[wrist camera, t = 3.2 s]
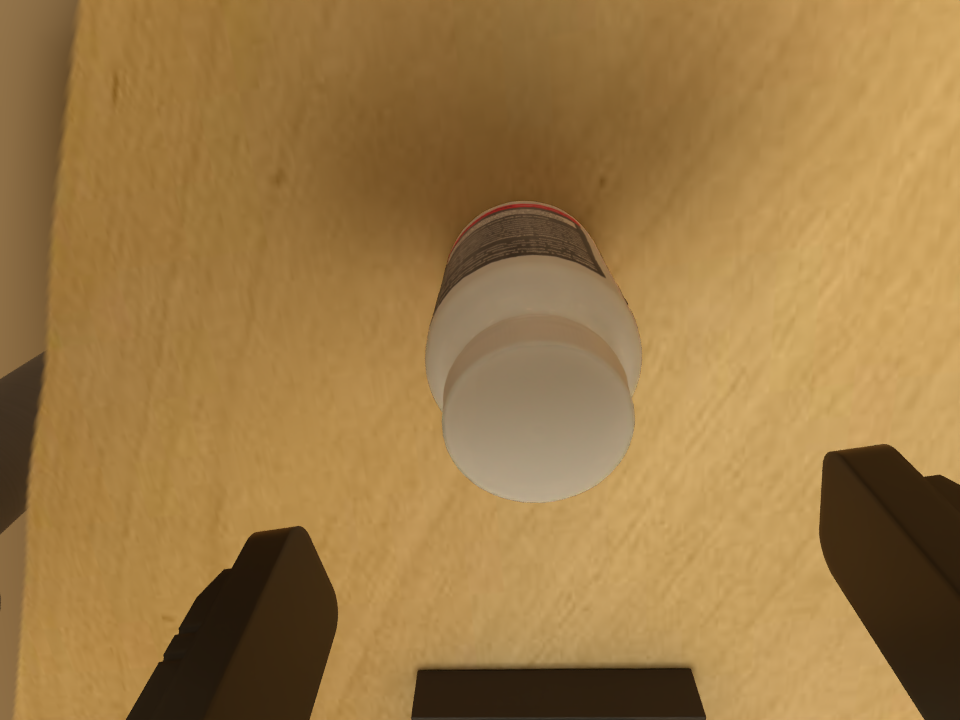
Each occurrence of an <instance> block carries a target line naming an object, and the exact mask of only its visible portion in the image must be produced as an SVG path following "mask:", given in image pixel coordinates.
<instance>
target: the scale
mask: <svg viewBox="0 0 960 720" xmlns="http://www.w3.org/2000/svg"><path fill="white" fill-rule="evenodd" d="M411 719H412V720H706V715H705V712H704V709H703V706H702V702H701V699H700V696H699V693H698V690H697V687H696V683H695V680H694V677H693V674H692V671H691V669H609V670H453V671H418V672H417V679H416V687H415V694H414V701H413V708H412V716H411Z"/></svg>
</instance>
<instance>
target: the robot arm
mask: <svg viewBox="0 0 960 720" xmlns="http://www.w3.org/2000/svg"><path fill="white" fill-rule="evenodd" d="M819 536H820V543H821V548H822V551H823V555H824V558H825V561H826V563H827V565H828V568H829V570H830V572H831V574H832V575H833V577H834V579H835V580H836V582H837V583H838V585H839V587H840V588H841V590H842V591H843V593H844V594H845V596H846V598H847V599H848V601H849V602H850V604H851V605H852V607H853V608H854V610H855V612H856V613H857V615H858V616H859V618H860V619H861V621H862V623H863V624H864V626H865V627H866V629H867V630H868V632H869V634H870V635H871V637H872V638H873V640H874V641H875V643H876V644H877V646H878V648H879V649H880V651H881V652H882V654H883V655H884V657H885V659H886V660H887V662H888V663H889V665H890V666H891V668H892V670H893V671H894V673H895V674H896V676H897V677H898V679H899V681H900V682H901V684H902V685H903V687H904V688H905V690H906V691H907V693H908V695H909V696H910V698H911V699H912V701H913V702H914V704H915V706H916V707H917V709H918V710H919V712H920V713H921V715H922V717H923V718H924V720H960V485H959V484H957V483H955V482H953V481H951V480H949V479H948V478H946V477H944V476H942V475H934V476H927V477H923V476H922V475H921V474H920V473H919V472H918V471H917V470H916V469H915V468H914V467H913V466H912V465H911V464H910V463H909V462H908V461H907V460H906V459H905V458H904V457H903V456H902V455H901V454H900V453H899V452H898V451H897V450H896V449H895V448H893V447H892V446H890V445H887V444H881V445H874V446H867V447H860V448H853V449H846V450H839V451H832V452H828V453H827V454H826V455H825V457H824V460H823V470H822V488H821V506H820V524H819ZM337 621H338V606H337V599H336V595H335V591H334V589H333V587H332V584H331V582H330V580H329V578H328V576H327V573H326V571H325V569H324V567H323V565H322V562H321V560H320V558H319V556H318V554H317V551H316V549H315V547H314V545H313V543H312V540H311V538H310V536H309V534H308V532H307V531H306V530H305V529H304V528H303V527H301V526H296V527H289V528H282V529H275V530H268V531H261V532H256V533H253V534H252V535H251V536H250V537H249V538H248V540H247V541H246V543H245V545H244V547H243V549H242V550H241V552H240V554H239V556H238V558H237V560H236V561H235V563H234V565H233V567H232V569H224V570H223V571H222V572H221V573H220V574H219V575H218V576H217V577H216V578H215V579H214V580H213V581H212V582H211V583H210V584H209V585H208V586H207V587H206V588H205V589H204V591H203V592H202V593H201V594H200V595H199V596H198V597H197V598H196V600H195V601H194V603H193V605H192V606H191V608H190V610H189V612H188V613H187V615H186V617H185V619H184V620H183V622H182V624H181V625H180V627H179V634H178V635H175V636H174V637H173V639H172V641H171V643H170V644H169V646H168V648H167V650H166V651H165V653H164V655H163V656H164V660H163V662H159V663H158V665H157V667H156V669H155V670H154V672H153V674H152V675H151V677H150V679H149V681H148V682H147V684H146V686H145V687H144V689H143V691H142V693H141V694H140V696H139V698H138V700H137V701H136V703H135V705H134V706H133V708H132V710H131V712H130V713H129V715H128V717H127V718H126V720H309V719H310V716H311V713H312V709H313V706H314V703H315V699H316V696H317V693H318V689H319V686H320V683H321V679H322V676H323V673H324V669H325V666H326V663H327V659H328V656H329V653H330V649H331V646H332V643H333V639H334V636H335V632H336V628H337Z"/></svg>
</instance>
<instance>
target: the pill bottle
mask: <svg viewBox="0 0 960 720" xmlns="http://www.w3.org/2000/svg"><path fill="white" fill-rule="evenodd" d="M425 364H426V374H427V379H428V383H429V387H430V390H431V393H432V395H433V397H434V399H435V401H436V403H437V405H438V406H439V408H440V410H441V411H442V429H443V437H444V441H445V445H446V448H447V451H448V453H449V454H450V456H451V458H452V460H453V462H454V463H455V465H456V466H457V468H458V469H459V470H460V471H461V472H462V473H463V474H464V475H465V476H466V477H467V478H468V479H469V480H470V481H472V482H473V483H474V484H475V485H477V486H478V487H480V488H481V489H483V490H485V491H487V492H489V493H491V494H493V495H496V496H498V497H501V498H505V499H509V500H513V501H519V502H527V503H546V502H553V501H559V500H563V499H566V498H569V497H573V496H576V495H578V494H581V493H583V492H585V491H587V490H589V489H590V488H592V487H594V486H596V485H597V484H599V483H600V482H601V481H602V480H604V479H605V478H606V477H607V476H608V475H609V474H610V473H611V472H612V471H613V470H614V469H615V468H616V467H617V466H618V464H619V463H620V462H621V460H622V459H623V457H624V456H625V454H626V452H627V450H628V448H629V445H630V442H631V439H632V436H633V431H634V425H635V413H634V404H633V401H632V396H633V394H634V392H635V389H636V387H637V384H638V381H639V377H640V372H641V365H642V347H641V340H640V335H639V331H638V327H637V324H636V320H635V318H634V316H633V313H632V312H631V310H630V308H629V307H628V303H627V301H626V299H625V298H624V296H623V295H622V292H621V290H620V288H619V286H618V285H617V284H616V282H615V280H614V278H613V276H612V275H611V273H610V271H609V269H608V267H607V265H606V264H605V262H604V260H603V258H602V256H601V254H600V252H599V250H598V248H597V247H596V244H595V243H594V241H593V240H592V238H591V237H590V235H589V234H588V232H587V231H586V230H585V229H584V227H583V226H582V225H581V224H580V223H579V222H578V221H577V220H576V219H574V218H573V217H572V216H571V215H569V214H568V213H566V212H565V211H563V210H561V209H559V208H557V207H555V206H553V205H549V204H544V203H540V202H535V201H514V202H508V203H505V204H501V205H498V206H495V207H492V208H490V209H488V210H486V211H484V212H483V213H481V214H480V215H478V216H477V217H476V218H475V219H473V220H472V221H471V222H470V223H469V224H468V225H467V226H466V227H465V228H464V229H463V231H462V232H461V233H460V235H459V236H458V238H457V240H456V241H455V243H454V245H453V247H452V250H451V252H450V255H449V257H448V261H447V265H446V268H445V273H444V277H443V281H442V284H441V288H440V292H439V295H438V298H437V302H436V306H435V310H434V313H433V317H432V320H431V323H430V327H429V332H428V336H427V343H426V354H425Z"/></svg>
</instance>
